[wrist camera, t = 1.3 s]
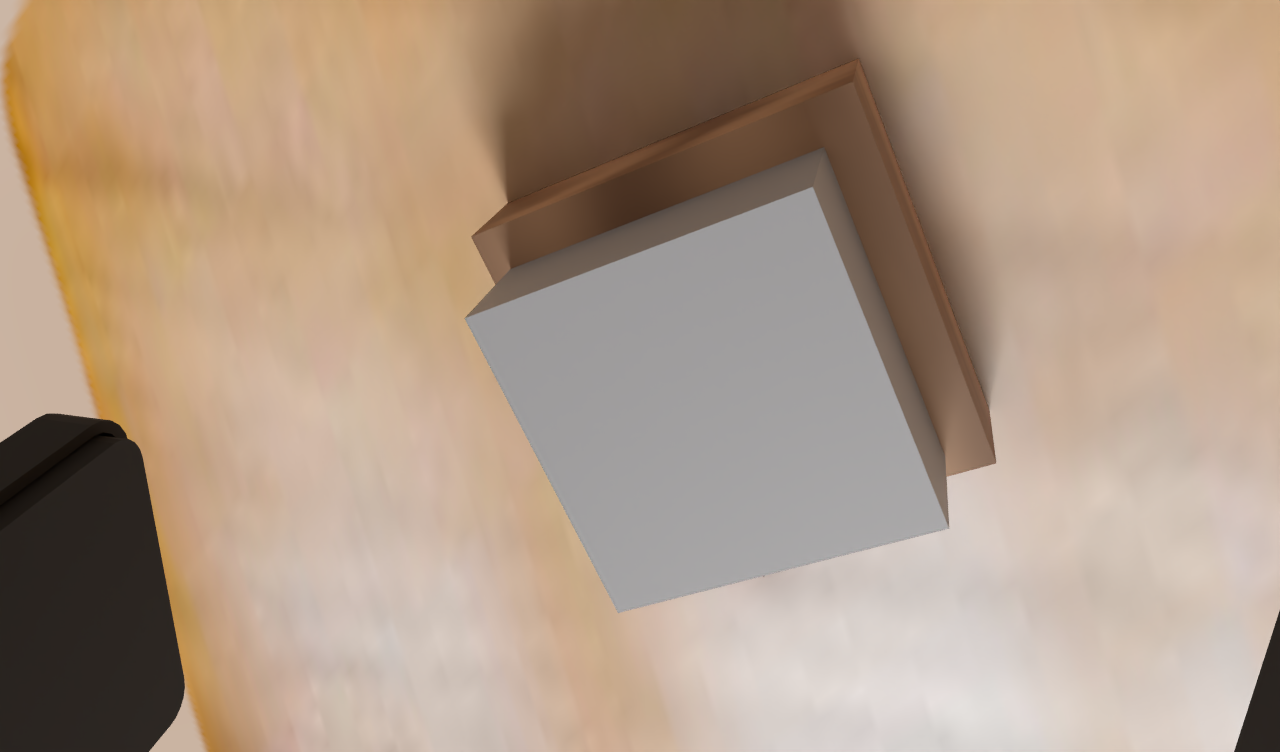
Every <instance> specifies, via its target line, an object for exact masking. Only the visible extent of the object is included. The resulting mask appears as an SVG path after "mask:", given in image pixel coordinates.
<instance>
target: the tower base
mask: <svg viewBox="0 0 1280 752" xmlns="http://www.w3.org/2000/svg"><path fill="white" fill-rule="evenodd" d="M823 147H824V148H825V150H826V153H827V156H828V158H829V161H830V163H831V166H832V168H833V171H834V174H835V176H836V179H837V181H838V184H839V186H840V189H841V191H842V194H843V197H844V199H845V202H846V204H847V207H848V209H849V212H850V214H851V217H852V220H853V222H854V225H855V227H856V230H857V232H858V235H859V237H860V240H861V243H862V245H863V248H864V250H865V253H866V255H867V258H868V260H869V263H870V266H871V268H872V271H873V273H874V276H875V278H876V281H877V283H878V286H879V289H880V291H881V294H882V296H883V299H884V301H885V304H886V306H887V309H888V312H889V314H890V317H891V319H892V322H893V324H894V327H895V329H896V332H897V335H898V337H899V340H900V342H901V345H902V347H903V350H904V352H905V355H906V358H907V360H908V363H909V365H910V368H911V370H912V373H913V375H914V378H915V381H916V383H917V386H918V388H919V391H920V393H921V396H922V398H923V401H924V404H925V406H926V409H927V411H928V414H929V416H930V419H931V421H932V424H933V427H934V429H935V432H936V434H937V437H938V439H939V442H940V444H941V447H942V450H943V452H944V455H945V461H946V477H947V476H951V475H955V474H958V473H962V472H966V471H969V470H973V469H977V468H980V467H984V466H988V465H991V464H995V463H996V458H995V450H994V442H993V434H992V427H991V419H990V411H989V408H988V405H987V403H986V400H985V397H984V395H983V392H982V389H981V387H980V384H979V381H978V379H977V376H976V373H975V370H974V368H973V365H972V362H971V360H970V357H969V354H968V352H967V349H966V346H965V344H964V341H963V338H962V335H961V333H960V330H959V327H958V325H957V322H956V319H955V317H954V314H953V311H952V308H951V306H950V303H949V300H948V298H947V295H946V292H945V290H944V287H943V284H942V282H941V279H940V276H939V273H938V271H937V268H936V265H935V263H934V260H933V257H932V255H931V252H930V249H929V247H928V244H927V241H926V238H925V236H924V233H923V230H922V228H921V225H920V222H919V220H918V217H917V214H916V212H915V209H914V206H913V203H912V201H911V198H910V195H909V193H908V190H907V187H906V185H905V182H904V179H903V177H902V174H901V171H900V168H899V166H898V163H897V160H896V158H895V155H894V152H893V150H892V147H891V144H890V141H889V139H888V136H887V133H886V131H885V128H884V125H883V123H882V120H881V117H880V115H879V112H878V109H877V106H876V104H875V101H874V98H873V96H872V93H871V90H870V88H869V85H868V82H867V80H866V77H865V74H864V71H863V69H862V66H861V63H860V61H859V59H856V60H854V61H851V62H849V63H847V64H844V65H842V66H839V67H837V68H834V69H832V70H830V71H827V72H825V73H822V74H820V75H817V76H815V77H813V78H810V79H808V80H805V81H803V82H801V83H798V84H796V85H793V86H791V87H788V88H786V89H784V90H781V91H779V92H776V93H774V94H771V95H769V96H767V97H764V98H762V99H759V100H757V101H755V102H752V103H750V104H747V105H745V106H742V107H740V108H738V109H735V110H733V111H730V112H728V113H725V114H723V115H721V116H718V117H716V118H713V119H711V120H709V121H706V122H704V123H701V124H699V125H696V126H694V127H692V128H689V129H687V130H684V131H682V132H679V133H677V134H675V135H672V136H670V137H667V138H665V139H663V140H660V141H658V142H655V143H653V144H650V145H648V146H646V147H643V148H641V149H638V150H636V151H633V152H631V153H629V154H626V155H624V156H621V157H619V158H617V159H614V160H612V161H609V162H607V163H604V164H602V165H600V166H597V167H595V168H592V169H590V170H587V171H585V172H583V173H580V174H578V175H575V176H573V177H571V178H568V179H566V180H563V181H561V182H558V183H556V184H554V185H551V186H549V187H546V188H544V189H541V190H539V191H537V192H534V193H532V194H529V195H527V196H525V197H522V198H520V199H517V200H515V201H512V202H510V203H508V204H507V205H506V206H504V207H503V208H502V209H501V210H500V211H499V212H498V213H497V214H496V215H495V216H493V217H492V218H491V219H490V220H489V221H488V222H487V223H486V224H485V225H484V226H482V227H481V228H480V229H479V230H478V231H477V232H476V233H475V234H474V235H473V236H471V237H472V239H473V241H474V243H475V245H476V247H477V249H478V251H479V253H480V255H481V257H482V259H483V261H484V263H485V265H486V267H487V269H488V271H489V273H490V275H491V277H492V279H493V281H494V283H495V284H497V283H498V282H499V281H500V280H501V279H502V278H503V277H504V276H505V274H506V273H507V272H508V271H509V270H510V269H512V268H514V267H517V266H520V265H522V264H525V263H527V262H530V261H532V260H535V259H538V258H540V257H543V256H545V255H548V254H550V253H553V252H556V251H558V250H561V249H563V248H566V247H568V246H571V245H574V244H576V243H579V242H581V241H584V240H586V239H589V238H592V237H594V236H597V235H599V234H602V233H604V232H607V231H610V230H612V229H615V228H617V227H620V226H622V225H625V224H628V223H630V222H633V221H635V220H638V219H640V218H643V217H646V216H648V215H651V214H653V213H656V212H658V211H661V210H664V209H666V208H669V207H671V206H674V205H676V204H679V203H682V202H684V201H687V200H689V199H692V198H694V197H697V196H700V195H702V194H705V193H707V192H710V191H712V190H715V189H718V188H720V187H723V186H725V185H728V184H730V183H733V182H736V181H738V180H741V179H743V178H746V177H748V176H751V175H754V174H756V173H759V172H761V171H764V170H766V169H769V168H772V167H774V166H777V165H779V164H782V163H784V162H787V161H790V160H792V159H795V158H797V157H800V156H802V155H805V154H808V153H810V152H813V151H815V150H818V149H820V148H823Z"/></svg>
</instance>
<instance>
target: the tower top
mask: <svg viewBox="0 0 1280 752" xmlns="http://www.w3.org/2000/svg"><path fill="white" fill-rule="evenodd" d="M465 320H466V322H467V324H468V326H469V328H470V330H471V331H472V333H473V335H474V337H475V339H476V341H477V343H478V345H479V347H480V349H481V351H482V353H483V354H484V356H485V358H486V360H487V362H488V364H489V366H490V368H491V370H492V372H493V374H494V376H495V377H496V379H497V381H498V383H499V385H500V387H501V389H502V391H503V393H504V395H505V397H506V399H507V400H508V402H509V404H510V406H511V408H512V410H513V412H514V414H515V416H516V418H517V420H518V422H519V424H520V425H521V427H522V429H523V431H524V433H525V435H526V437H527V439H528V441H529V443H530V445H531V447H532V448H533V450H534V452H535V454H536V456H537V458H538V460H539V462H540V464H541V466H542V468H543V470H544V471H545V473H546V475H547V477H548V479H549V481H550V483H551V485H552V487H553V489H554V491H555V493H556V495H557V496H558V498H559V500H560V502H561V504H562V506H563V508H564V510H565V512H566V514H567V516H568V518H569V519H570V521H571V523H572V525H573V527H574V529H575V531H576V533H577V535H578V537H579V539H580V541H581V542H582V544H583V546H584V548H585V550H586V552H587V554H588V556H589V558H590V560H591V562H592V564H593V565H594V567H595V569H596V571H597V573H598V575H599V577H600V579H601V581H602V583H603V585H604V587H605V589H606V590H607V592H608V594H609V596H610V598H611V600H612V602H613V604H614V606H615V608H616V610H617V612H618V613H620V612H624V611H628V610H632V609H636V608H640V607H643V606H647V605H651V604H655V603H659V602H663V601H667V600H671V599H675V598H679V597H683V596H687V595H690V594H694V593H698V592H702V591H706V590H710V589H714V588H718V587H722V586H726V585H730V584H734V583H737V582H741V581H745V580H749V579H753V578H757V577H761V576H765V575H769V574H773V573H777V572H781V571H784V570H788V569H792V568H796V567H800V566H804V565H808V564H812V563H816V562H820V561H824V560H828V559H831V558H835V557H839V556H843V555H847V554H851V553H855V552H859V551H863V550H867V549H871V548H874V547H878V546H882V545H886V544H890V543H894V542H898V541H902V540H906V539H910V538H914V537H918V536H921V535H925V534H929V533H933V532H937V531H941V530H945V529H949V518H948V499H947V480H946V461H945V455H944V452H943V450H942V447H941V444H940V442H939V439H938V437H937V434H936V432H935V429H934V427H933V424H932V421H931V419H930V416H929V414H928V411H927V409H926V406H925V404H924V401H923V398H922V396H921V393H920V391H919V388H918V386H917V383H916V381H915V378H914V375H913V373H912V370H911V368H910V365H909V363H908V360H907V358H906V355H905V352H904V350H903V347H902V345H901V342H900V340H899V337H898V335H897V332H896V329H895V327H894V324H893V322H892V319H891V317H890V314H889V312H888V309H887V306H886V304H885V301H884V299H883V296H882V294H881V291H880V289H879V286H878V283H877V281H876V278H875V276H874V273H873V271H872V268H871V266H870V263H869V260H868V258H867V255H866V253H865V250H864V248H863V245H862V243H861V240H860V237H859V235H858V232H857V230H856V227H855V225H854V222H853V220H852V217H851V214H850V212H849V209H848V207H847V204H846V202H845V199H844V197H843V194H842V191H841V189H840V186H839V184H838V181H837V179H836V176H835V174H834V171H833V168H832V166H831V163H830V161H829V158H828V156H827V153H826V150H825V148H824V147H823V148H820V149H818V150H815V151H813V152H810V153H808V154H805V155H802V156H800V157H797V158H795V159H792V160H790V161H787V162H784V163H782V164H779V165H777V166H774V167H772V168H769V169H766V170H764V171H761V172H759V173H756V174H754V175H751V176H748V177H746V178H743V179H741V180H738V181H736V182H733V183H730V184H728V185H725V186H723V187H720V188H718V189H715V190H712V191H710V192H707V193H705V194H702V195H700V196H697V197H694V198H692V199H689V200H687V201H684V202H682V203H679V204H676V205H674V206H671V207H669V208H666V209H664V210H661V211H658V212H656V213H653V214H651V215H648V216H646V217H643V218H640V219H638V220H635V221H633V222H630V223H628V224H625V225H622V226H620V227H617V228H615V229H612V230H610V231H607V232H604V233H602V234H599V235H597V236H594V237H592V238H589V239H586V240H584V241H581V242H579V243H576V244H574V245H571V246H568V247H566V248H563V249H561V250H558V251H556V252H553V253H550V254H548V255H545V256H543V257H540V258H538V259H535V260H532V261H530V262H527V263H525V264H522V265H520V266H517V267H514V268H512V269H510V270H509V271H508V272H507V273H506V274H505V276H504V277H503V278H502V279H501V280H500V281H499V282H498V283H497V284H496V285H495V286H494V287H493V288H492V290H491V291H490V292H489V293H488V294H487V295H486V296H485V297H484V298H483V299H482V300H481V301H480V302H479V303H478V305H477V306H476V307H475V308H474V309H473V310H472V311H471V312H470V313H469V314H468V315H467V316H466V317H465Z"/></svg>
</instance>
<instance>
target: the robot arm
mask: <svg viewBox="0 0 1280 752" xmlns="http://www.w3.org/2000/svg"><path fill="white" fill-rule="evenodd" d="M184 689H185V684H184V675H183V670H182V664H181V659H180V654H179V648H178V643H177V638H176V632H175V627H174V622H173V616H172V611H171V606H170V600H169V595H168V590H167V585H166V579H165V574H164V569H163V563H162V558H161V553H160V547H159V542H158V537H157V531H156V526H155V521H154V515H153V510H152V505H151V499H150V494H149V489H148V484H147V478H146V473H145V468H144V462H143V457H142V454H141V451H140V449H139V447H138V446H137V445H136V443H135V442H133V441H131V440H129V439H127V436H126V433H125V432H124V431H123V429H122V428H121V427H120V425H118V424H116V423H115V422H113V421H110V420H103V419H95V418H87V417H79V416H71V415H64V414H45V415H43V416H41V417H39V418H36V419H35V420H33V421H32V422H30V423H29V424H28V425H26V426H25V427H23V428H22V429H20V430H19V431H17V432H16V433H14V434H13V435H11V436H10V437H8V438H7V439H5V440H4V441H2V442H1V443H0V752H149V751H150V749H151V748H152V747H153V746H154V745H155V743H156V742H157V741H158V740H159V738H160V737H161V736H162V735H163V734H164V733H165V731H166V730H167V729H168V728H169V727H170V725H171V724H172V722H173V721H174V719H175V718H176V716H177V714H178V712H179V710H180V707H181V704H182V700H183V697H184ZM1234 752H1280V612H1279V615H1278V618H1277V621H1276V624H1275V627H1274V630H1273V633H1272V636H1271V639H1270V643H1269V646H1268V649H1267V652H1266V655H1265V658H1264V661H1263V664H1262V667H1261V670H1260V673H1259V677H1258V680H1257V683H1256V686H1255V689H1254V692H1253V695H1252V698H1251V701H1250V704H1249V708H1248V711H1247V714H1246V717H1245V720H1244V723H1243V726H1242V729H1241V732H1240V735H1239V739H1238V742H1237V745H1236V748H1235V751H1234Z"/></svg>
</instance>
